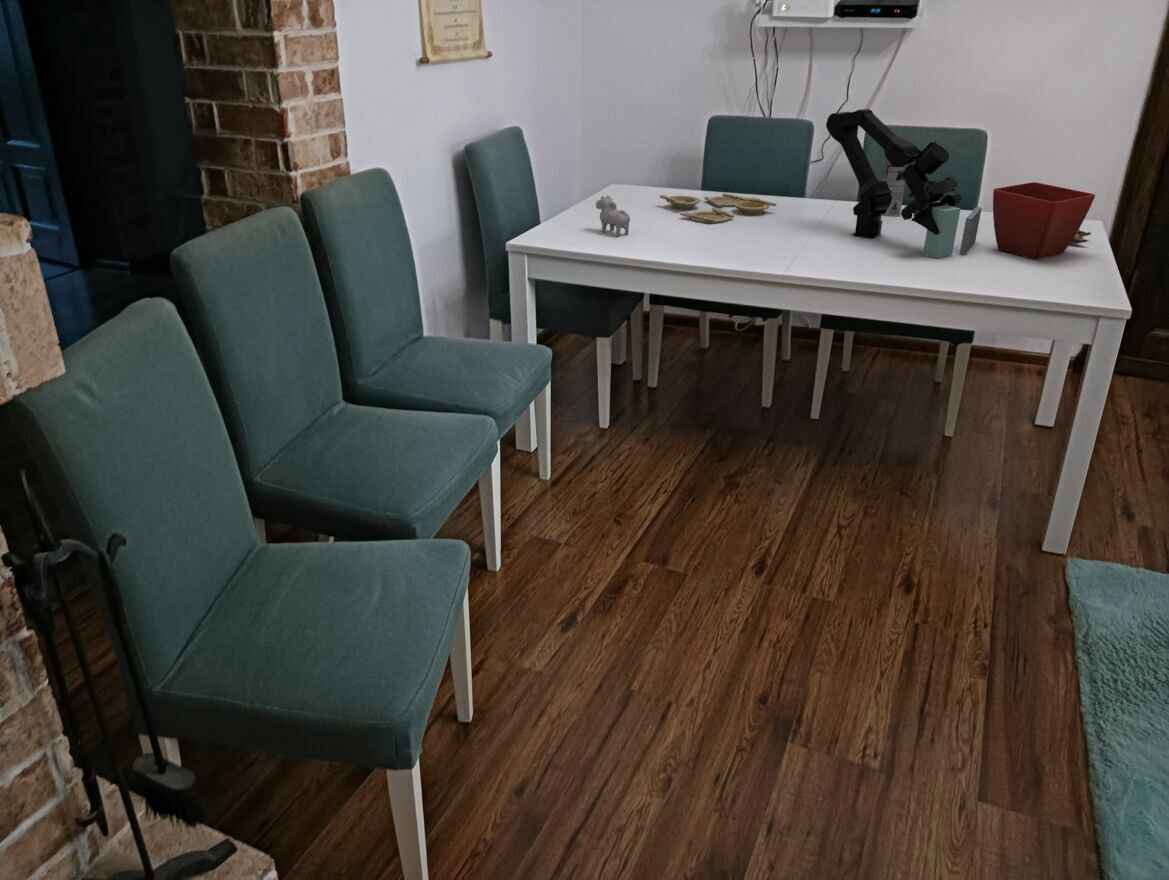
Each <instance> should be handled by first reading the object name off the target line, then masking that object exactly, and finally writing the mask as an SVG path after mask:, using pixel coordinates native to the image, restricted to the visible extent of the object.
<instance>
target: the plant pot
mask: <svg viewBox="0 0 1169 880" xmlns="http://www.w3.org/2000/svg"><path fill="white" fill-rule="evenodd" d="M992 194H993V195H992V197H993V198H992V215H993V217H992V218H993V229H994V235H995V242H996V245H997V246H996V247H997V249H998V250H999V251H1004V252H1008V253H1012V254H1015V255H1018V256H1022V257H1026V258H1029V259H1031V260H1041V259H1045V258H1050V257H1054V256H1057V255H1058V256H1059V255H1062V254H1064V252H1065V251H1066V250H1067V249H1068V247H1069V245H1070V244H1071V243H1070V242H1071V241H1072V239H1073V238H1074V236H1075V235H1076V233H1077V231H1078V230H1080V229H1079V228H1081V226H1082V224H1083V222H1084V221H1085V218H1086V217H1087V215H1088V213H1089V211H1090V209H1091V207H1092V204H1093V202H1094V200H1095V197H1096V193H1095V194H1094V193H1090V192H1085V191H1080V190H1077V189H1071V188H1065V187H1061V186H1057V185H1051V184H1048V183H1047V184H1046V183H1041V182H1035V181H1034V182H1033V181H1032V182H1026V183H1019V184H1015V185H1009V186H1003V187H996V188H993V193H992Z"/></svg>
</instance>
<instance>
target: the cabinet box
mask: <svg viewBox="0 0 1169 880" xmlns="http://www.w3.org/2000/svg"><path fill="white" fill-rule="evenodd" d="M960 214H961V208H960V207H956V206H954V207H952V206H947V205H943V206H937V207H932V216H933V218H934V221H935V223H936V225H937V227H938V230H939V234H938V235H935V234H934V233H932V232H931V231H929V230H928V229H926V233H925V239H924V244H923V245H924V246H923V251H922V255H923V256H926V255H927V257H930V256H931V257H930V258H933V257H934V259H943V258H947V257H951V256H952V255H953V252H954V247H955V246H954V245H955V240H956V235H957V230H958V225H959V220H960V219H959V218H960Z"/></svg>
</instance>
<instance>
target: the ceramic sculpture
mask: <svg viewBox="0 0 1169 880" xmlns="http://www.w3.org/2000/svg"><path fill="white" fill-rule="evenodd" d="M1080 228H1081V227H1080ZM1080 228H1079V230H1078V231H1077V233H1076V235H1075V236H1074V238H1073V239H1072V241H1071V242H1070V244H1081V243H1087V242H1088V241H1089V240H1087V239H1085V238H1084V237H1088V236H1090V235H1091V234H1092V232H1090V231H1089V232H1086V231H1084V230H1080Z"/></svg>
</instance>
